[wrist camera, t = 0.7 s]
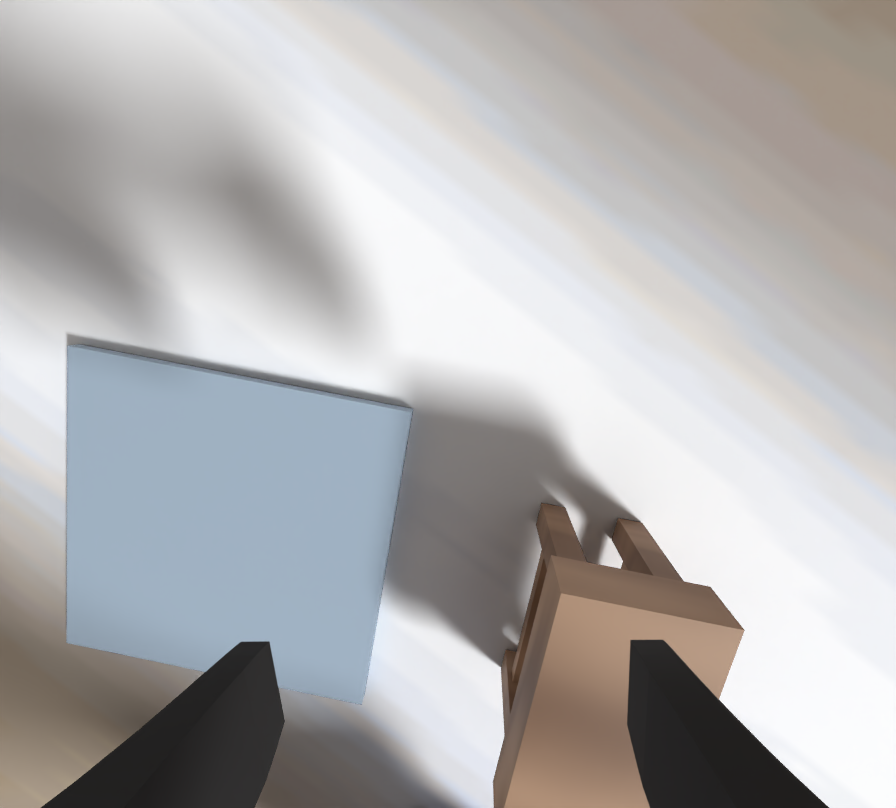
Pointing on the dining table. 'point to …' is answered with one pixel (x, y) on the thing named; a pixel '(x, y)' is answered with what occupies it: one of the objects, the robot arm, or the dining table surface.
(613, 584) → the stool
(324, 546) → the mat
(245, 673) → the robot arm
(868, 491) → the dining table surface
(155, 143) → the dining table surface
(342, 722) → the dining table surface
